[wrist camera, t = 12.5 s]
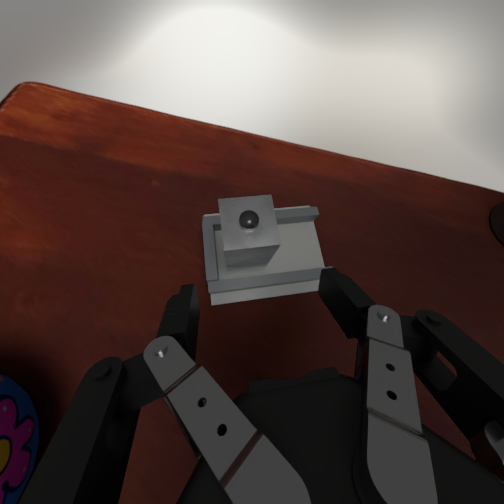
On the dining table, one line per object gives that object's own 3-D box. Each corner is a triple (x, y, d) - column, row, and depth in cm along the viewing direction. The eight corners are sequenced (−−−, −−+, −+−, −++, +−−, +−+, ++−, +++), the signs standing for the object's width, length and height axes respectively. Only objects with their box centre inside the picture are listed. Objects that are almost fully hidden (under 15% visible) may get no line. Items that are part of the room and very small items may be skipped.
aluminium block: (258, 236, 27) (272, 192, 17) (264, 269, 26) (282, 242, 16) (224, 240, 26) (217, 196, 17) (228, 274, 25) (223, 249, 15)
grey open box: (306, 209, 30) (317, 193, 26) (326, 289, 27) (341, 285, 23) (205, 218, 28) (200, 203, 24) (212, 305, 25) (208, 304, 21)
